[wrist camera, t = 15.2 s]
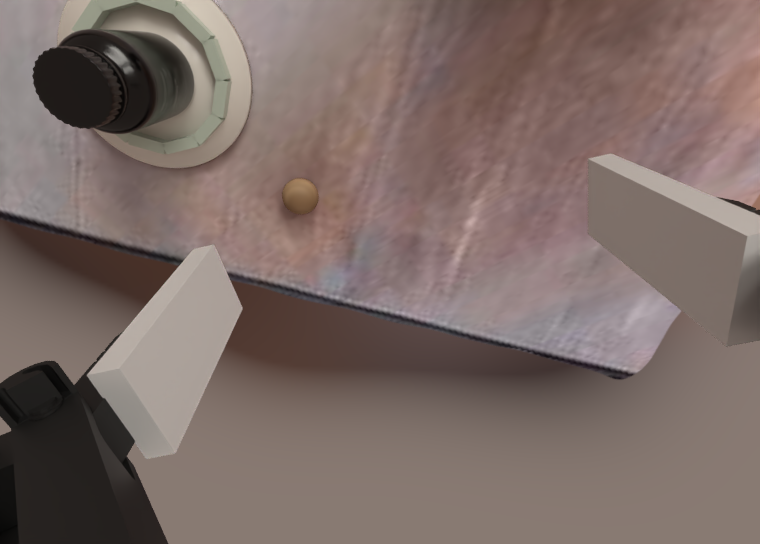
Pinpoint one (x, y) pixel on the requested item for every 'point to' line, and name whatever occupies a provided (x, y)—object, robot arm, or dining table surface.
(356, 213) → the dining table surface
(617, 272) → the dining table surface
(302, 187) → the wooden bead
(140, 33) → the supplement bottle
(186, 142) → the plate
